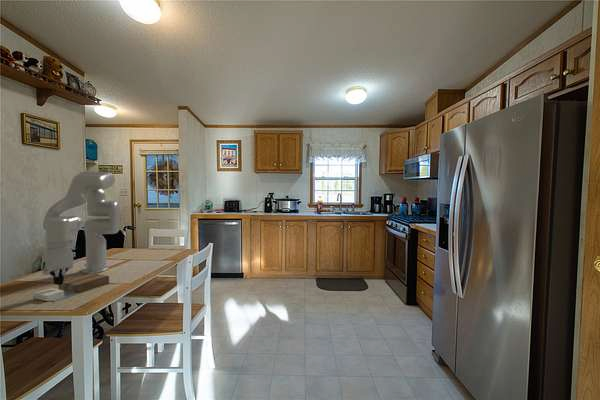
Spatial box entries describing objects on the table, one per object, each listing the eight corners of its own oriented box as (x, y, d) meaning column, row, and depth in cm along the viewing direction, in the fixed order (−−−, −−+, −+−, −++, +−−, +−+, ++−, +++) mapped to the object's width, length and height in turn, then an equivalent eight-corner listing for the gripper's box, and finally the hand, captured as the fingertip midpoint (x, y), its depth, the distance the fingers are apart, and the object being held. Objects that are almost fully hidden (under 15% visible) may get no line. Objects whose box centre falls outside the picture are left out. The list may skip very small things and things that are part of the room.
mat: (33, 296, 112) (33, 296, 112) (58, 289, 121) (58, 288, 121) (53, 301, 107) (53, 301, 107) (78, 294, 116) (78, 293, 116)
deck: (58, 289, 120) (58, 281, 120) (91, 280, 134) (90, 272, 134) (77, 293, 116) (77, 285, 116) (109, 283, 129) (108, 276, 129)
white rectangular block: (51, 288, 116) (51, 293, 116) (34, 293, 110) (34, 298, 110) (64, 290, 113) (64, 295, 113) (47, 295, 107) (47, 301, 107)
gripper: (72, 241, 123) (72, 278, 123) (31, 247, 108) (32, 288, 109) (82, 242, 120) (82, 279, 121) (41, 248, 106) (42, 291, 106)
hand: (58, 284), depth 115 cm, fingers closed
